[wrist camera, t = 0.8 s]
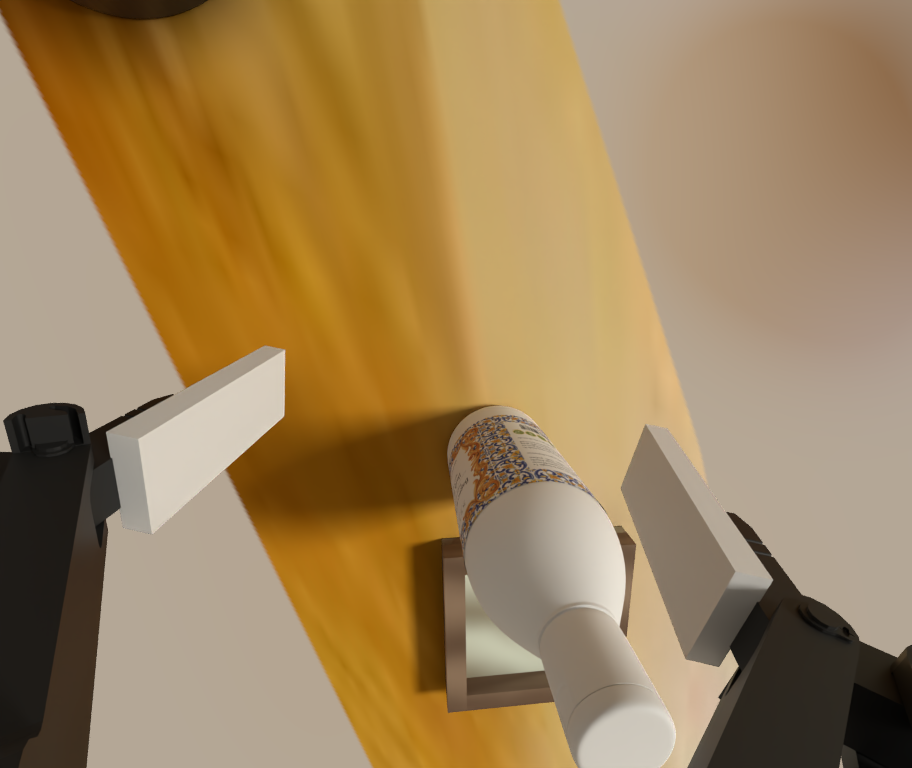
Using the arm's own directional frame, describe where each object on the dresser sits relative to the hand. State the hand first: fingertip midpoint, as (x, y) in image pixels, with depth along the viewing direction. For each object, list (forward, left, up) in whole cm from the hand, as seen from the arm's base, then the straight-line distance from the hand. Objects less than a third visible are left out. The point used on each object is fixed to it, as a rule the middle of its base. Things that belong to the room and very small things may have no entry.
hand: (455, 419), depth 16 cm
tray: (+21, +7, -14) cm, 26 cm away
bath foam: (+7, +4, -14) cm, 16 cm away
